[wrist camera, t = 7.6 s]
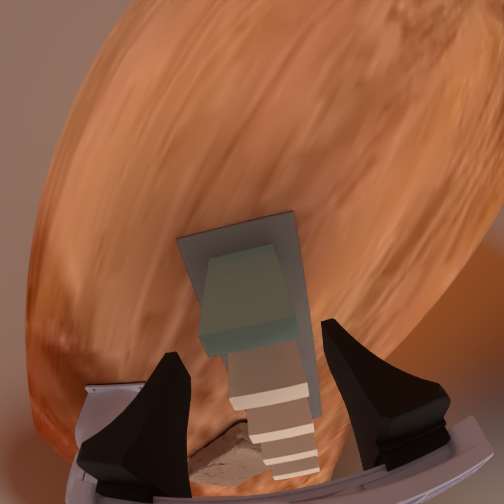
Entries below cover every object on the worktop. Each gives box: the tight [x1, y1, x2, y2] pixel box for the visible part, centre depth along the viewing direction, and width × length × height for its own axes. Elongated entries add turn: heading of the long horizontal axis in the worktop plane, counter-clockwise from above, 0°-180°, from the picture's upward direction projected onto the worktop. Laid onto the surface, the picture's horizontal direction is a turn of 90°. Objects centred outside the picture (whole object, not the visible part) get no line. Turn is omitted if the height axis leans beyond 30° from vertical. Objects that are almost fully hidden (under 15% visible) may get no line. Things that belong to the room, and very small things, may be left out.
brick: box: [188, 423, 271, 487], centre depth 33 cm, size 17×8×5 cm, turn 147°
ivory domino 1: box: [228, 339, 309, 411], centre depth 21 cm, size 5×2×9 cm, turn 103°
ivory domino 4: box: [271, 456, 320, 480], centre depth 28 cm, size 5×2×9 cm, turn 103°
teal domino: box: [198, 244, 300, 357], centre depth 18 cm, size 5×2×9 cm, turn 103°
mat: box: [177, 211, 322, 419], centre depth 27 cm, size 9×28×1 cm, turn 13°
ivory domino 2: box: [247, 397, 315, 444], centre depth 23 cm, size 5×2×9 cm, turn 103°
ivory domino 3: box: [261, 432, 318, 465], centre depth 25 cm, size 5×2×9 cm, turn 103°
